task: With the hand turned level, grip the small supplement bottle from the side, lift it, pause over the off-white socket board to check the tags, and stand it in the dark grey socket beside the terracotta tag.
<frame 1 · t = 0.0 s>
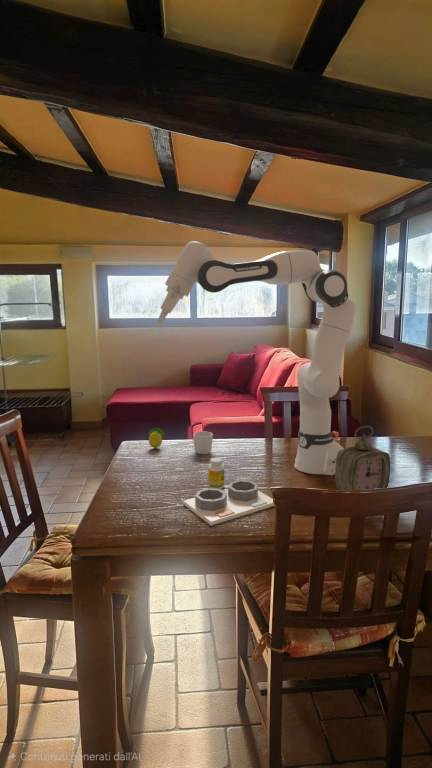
hand: (159, 322, 160), 54 cm above the table, tool tilted 30°, fingers open, 8 cm apart
lemon: (156, 449, 196), on the table
supplement bottle: (216, 487, 157), on the table
tabletop clock: (359, 504, 144), on the table
cup: (203, 452, 193), on the table
socket board: (230, 504, 144), on the table
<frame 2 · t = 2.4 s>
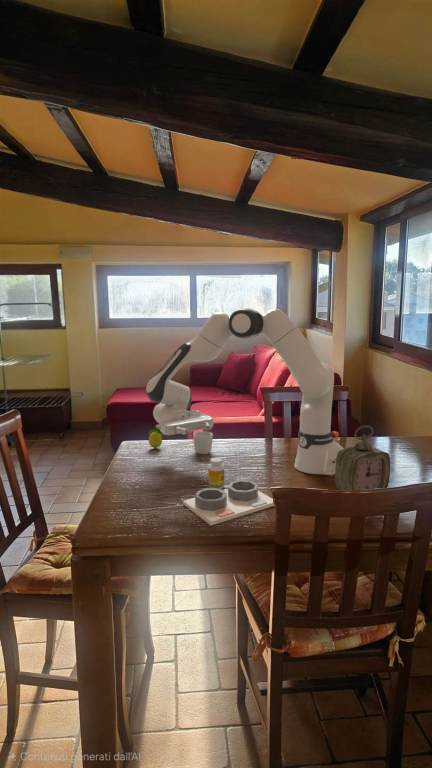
hand: (197, 430, 164), 17 cm above the table, tool horizontal, fingers open, 8 cm apart
nothing on the table moved.
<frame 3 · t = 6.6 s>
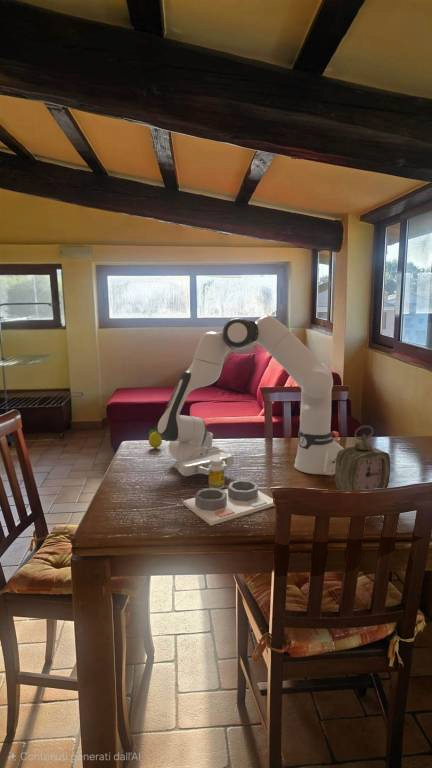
hand: (217, 470, 156), 6 cm above the table, tool horizontal, fingers closed on supplement bottle, 5 cm apart
supplement bottle: (216, 487, 157), on the table, touching gripper
everything else where it was.
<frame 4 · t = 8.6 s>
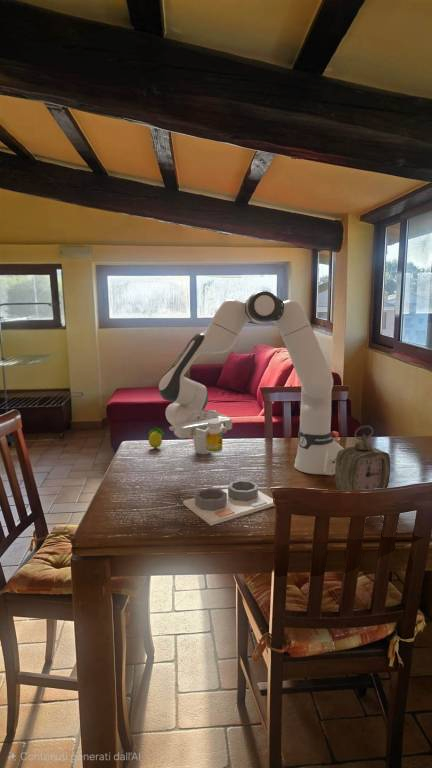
hand: (215, 432, 148), 21 cm above the table, tool horizontal, fingers closed on supplement bottle, 5 cm apart
supplement bottle: (214, 451, 151), point 14 cm above the table, touching gripper
everything else where it was.
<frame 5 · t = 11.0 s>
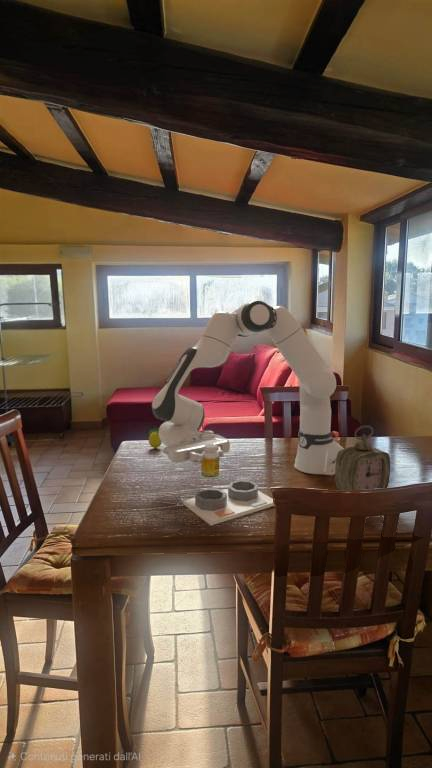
hand: (212, 456, 138), 17 cm above the table, tool horizontal, fingers closed on supplement bottle, 5 cm apart
supplement bottle: (210, 476, 140), point 10 cm above the table, touching gripper
everything else where it was.
when the fingers open (9 cm above the table, at t = 13.1 s): supplement bottle stays where it is, resting on socket board.
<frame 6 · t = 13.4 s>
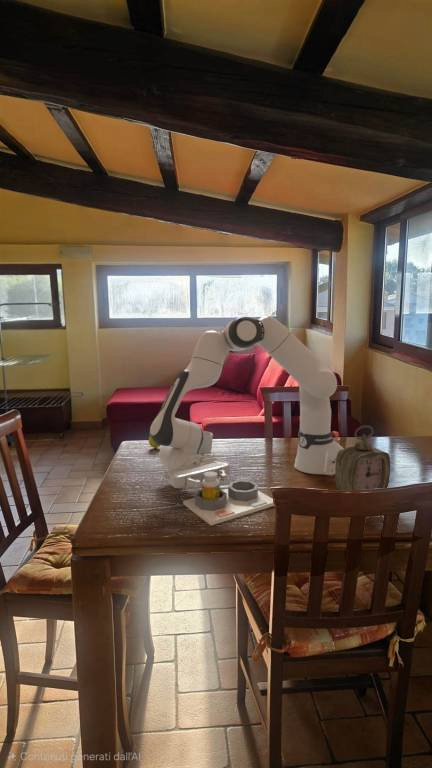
hand: (212, 481, 139), 9 cm above the table, tool horizontal, fingers open, 8 cm apart
supplement bottle: (210, 504, 142), point 1 cm above the table, touching socket board
everything else where it was.
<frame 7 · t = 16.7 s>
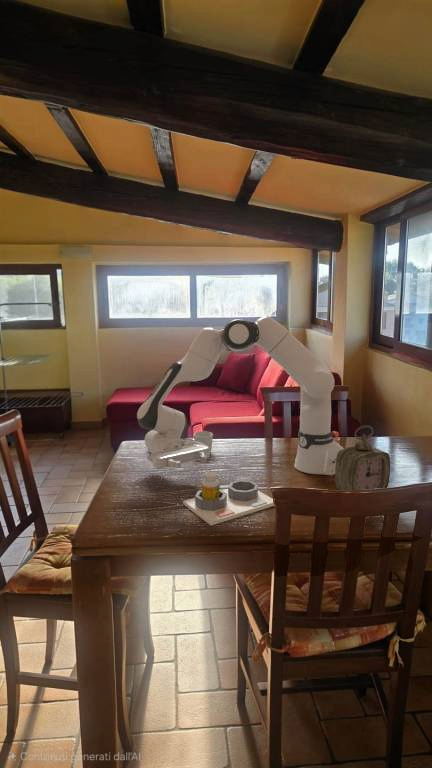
hand: (192, 462, 150), 11 cm above the table, tool horizontal, fingers open, 8 cm apart
nothing on the table moved.
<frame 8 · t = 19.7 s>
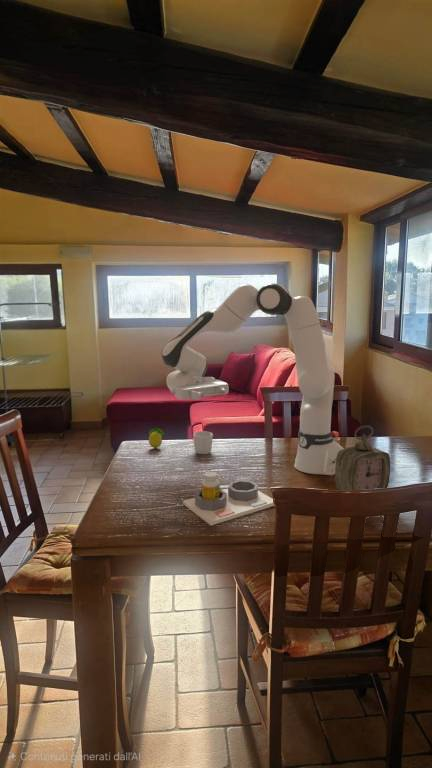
hand: (213, 394, 161), 30 cm above the table, tool horizontal, fingers open, 8 cm apart
nothing on the table moved.
at the end: supplement bottle 0.1 cm from the target spot on the socket board, point 1.0 cm above the socket board's base; supplement bottle tilted 0°; the gripper is holding nothing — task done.
